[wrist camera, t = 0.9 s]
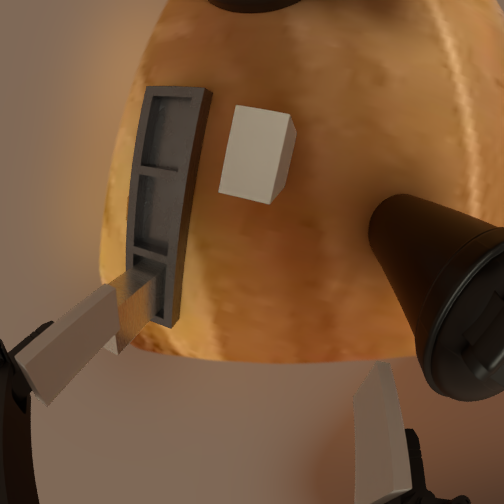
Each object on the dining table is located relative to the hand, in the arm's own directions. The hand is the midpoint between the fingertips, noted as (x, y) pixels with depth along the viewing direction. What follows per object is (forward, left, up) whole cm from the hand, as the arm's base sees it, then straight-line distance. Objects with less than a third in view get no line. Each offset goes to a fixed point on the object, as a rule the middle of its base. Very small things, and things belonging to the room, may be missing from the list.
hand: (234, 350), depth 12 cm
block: (-8, -3, -20) cm, 22 cm away
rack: (+1, -15, -20) cm, 25 cm away
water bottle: (-4, +13, -20) cm, 24 cm away
